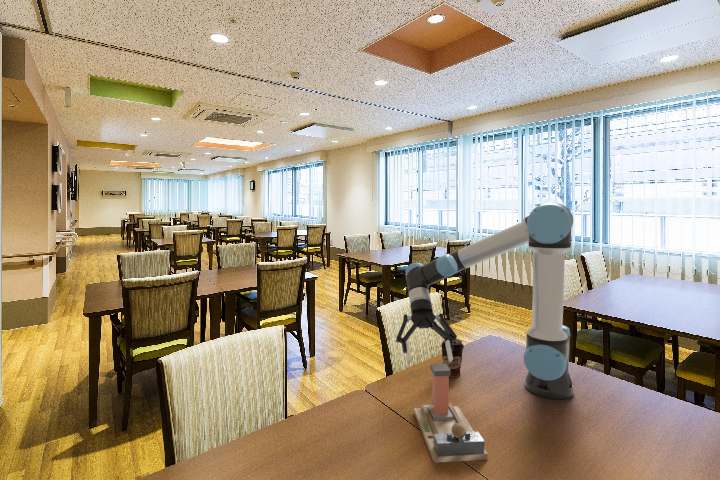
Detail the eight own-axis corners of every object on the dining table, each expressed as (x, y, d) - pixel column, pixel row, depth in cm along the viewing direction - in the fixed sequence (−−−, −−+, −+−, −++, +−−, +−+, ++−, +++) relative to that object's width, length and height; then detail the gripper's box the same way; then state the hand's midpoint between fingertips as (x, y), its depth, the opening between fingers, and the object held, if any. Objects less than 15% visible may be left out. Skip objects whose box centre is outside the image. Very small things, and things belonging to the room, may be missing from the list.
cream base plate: (458, 410, 119) (458, 402, 119) (487, 459, 96) (487, 449, 96) (414, 412, 118) (414, 404, 118) (433, 462, 96) (433, 452, 95)
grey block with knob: (478, 444, 100) (478, 427, 100) (483, 454, 96) (484, 436, 96) (433, 446, 99) (433, 429, 99) (437, 456, 95) (437, 439, 95)
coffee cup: (464, 380, 139) (464, 346, 138) (441, 378, 141) (441, 344, 140) (462, 370, 148) (463, 337, 147) (440, 368, 150) (441, 336, 148)
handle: (446, 407, 118) (446, 362, 117) (453, 419, 111) (453, 372, 110) (421, 408, 118) (421, 363, 116) (427, 421, 111) (427, 373, 110)
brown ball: (462, 432, 99) (463, 419, 99) (467, 441, 96) (468, 427, 95) (449, 433, 99) (449, 420, 99) (453, 442, 96) (454, 428, 95)
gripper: (452, 307, 139) (465, 364, 125) (384, 309, 137) (390, 367, 124) (457, 297, 133) (471, 355, 119) (386, 298, 131) (392, 358, 118)
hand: (430, 361), depth 122 cm, fingers open, 13 cm apart
